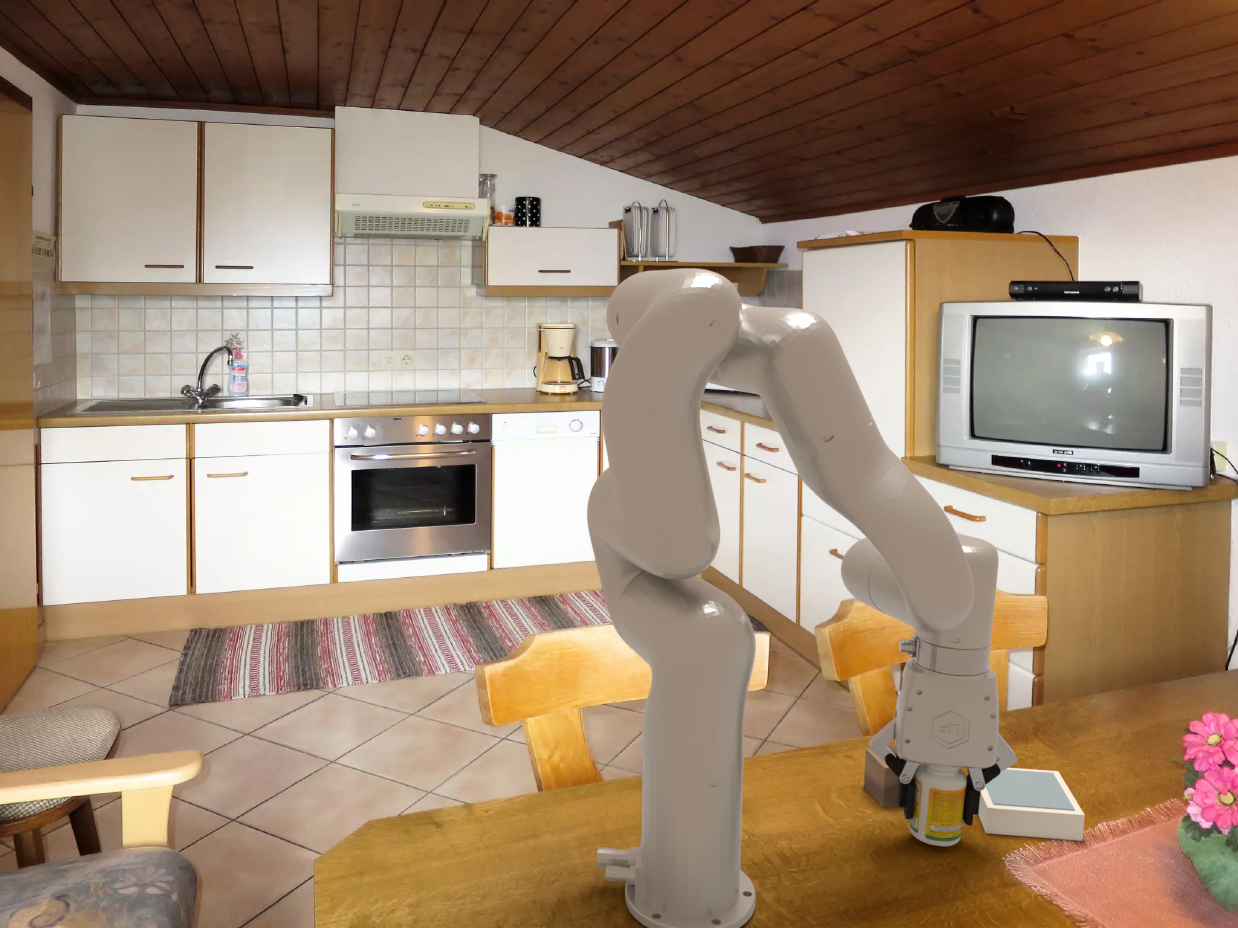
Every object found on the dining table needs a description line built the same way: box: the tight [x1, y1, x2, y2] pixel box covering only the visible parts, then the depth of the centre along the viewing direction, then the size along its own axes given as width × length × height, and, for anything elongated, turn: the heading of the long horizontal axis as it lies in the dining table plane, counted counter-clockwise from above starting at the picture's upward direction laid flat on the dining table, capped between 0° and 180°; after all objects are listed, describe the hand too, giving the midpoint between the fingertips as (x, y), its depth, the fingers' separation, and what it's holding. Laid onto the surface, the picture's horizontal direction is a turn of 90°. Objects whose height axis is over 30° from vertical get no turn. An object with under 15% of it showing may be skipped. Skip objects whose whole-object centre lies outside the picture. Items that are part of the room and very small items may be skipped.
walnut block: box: [863, 745, 920, 809], centre depth 116 cm, size 5×5×5 cm
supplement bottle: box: [908, 763, 967, 847], centre depth 106 cm, size 5×5×10 cm
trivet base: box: [978, 767, 1086, 842], centre depth 112 cm, size 10×10×3 cm
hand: (936, 814), depth 106 cm, fingers closed on supplement bottle, 5 cm apart
